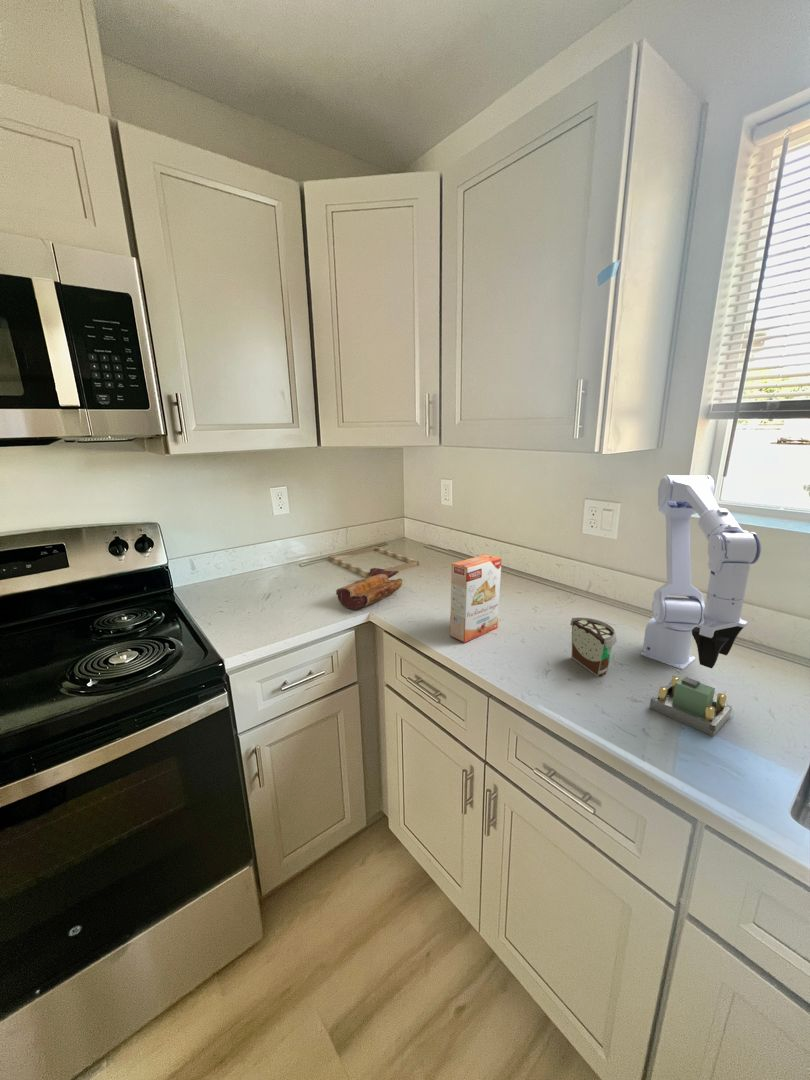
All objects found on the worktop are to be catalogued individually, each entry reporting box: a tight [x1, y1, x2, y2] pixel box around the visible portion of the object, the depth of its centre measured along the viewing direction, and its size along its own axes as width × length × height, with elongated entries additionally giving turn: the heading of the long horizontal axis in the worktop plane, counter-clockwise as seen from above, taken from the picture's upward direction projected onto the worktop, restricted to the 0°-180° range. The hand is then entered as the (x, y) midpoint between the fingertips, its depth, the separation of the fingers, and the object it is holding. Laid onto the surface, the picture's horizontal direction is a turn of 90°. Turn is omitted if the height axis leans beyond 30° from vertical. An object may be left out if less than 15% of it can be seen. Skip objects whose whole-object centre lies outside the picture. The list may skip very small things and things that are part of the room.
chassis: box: [649, 675, 733, 737], centre depth 86 cm, size 11×9×4 cm
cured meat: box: [335, 567, 403, 611], centre depth 148 cm, size 18×25×7 cm
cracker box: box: [449, 553, 503, 644], centre depth 119 cm, size 14×6×21 cm, turn 130°
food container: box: [569, 617, 617, 678], centre depth 103 cm, size 12×6×10 cm, turn 17°
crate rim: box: [328, 546, 420, 579], centre depth 183 cm, size 31×24×3 cm
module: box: [672, 676, 716, 719], centre depth 85 cm, size 6×4×6 cm, turn 38°
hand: (713, 659), depth 87 cm, fingers open, 7 cm apart
